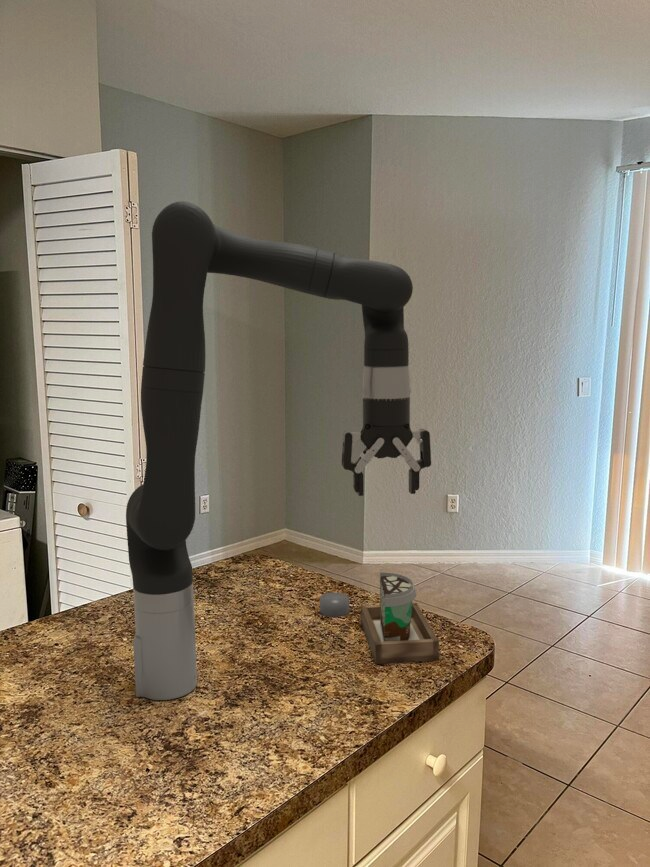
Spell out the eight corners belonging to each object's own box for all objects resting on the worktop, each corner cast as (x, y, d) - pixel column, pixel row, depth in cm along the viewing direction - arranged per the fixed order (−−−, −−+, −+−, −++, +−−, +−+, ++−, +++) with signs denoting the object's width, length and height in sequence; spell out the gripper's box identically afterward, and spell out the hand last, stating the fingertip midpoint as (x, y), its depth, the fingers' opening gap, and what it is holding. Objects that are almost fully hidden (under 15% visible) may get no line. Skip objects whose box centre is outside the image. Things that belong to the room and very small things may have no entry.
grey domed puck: (321, 618, 138) (321, 604, 138) (318, 606, 144) (318, 593, 144) (351, 617, 139) (350, 602, 138) (347, 605, 145) (347, 591, 144)
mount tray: (375, 664, 119) (375, 644, 118) (361, 623, 135) (361, 605, 135) (438, 660, 120) (439, 641, 119) (416, 620, 136) (416, 603, 136)
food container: (420, 649, 121) (420, 595, 120) (385, 650, 121) (385, 595, 120) (411, 620, 133) (412, 570, 132) (379, 621, 133) (379, 571, 132)
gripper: (424, 391, 115) (423, 487, 117) (339, 393, 114) (340, 490, 116) (435, 395, 108) (434, 498, 110) (344, 397, 106) (345, 501, 109)
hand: (386, 493), depth 113 cm, fingers open, 8 cm apart
